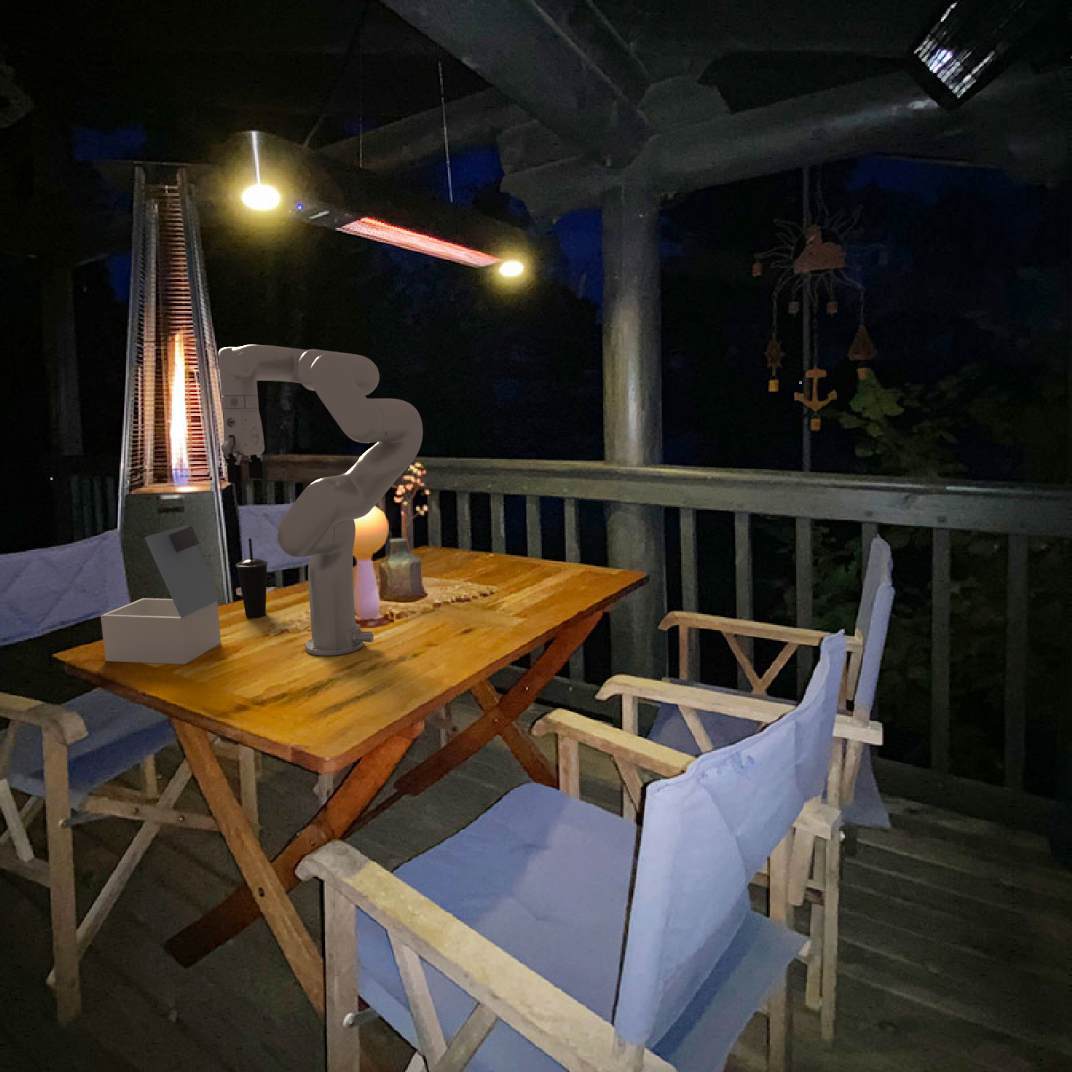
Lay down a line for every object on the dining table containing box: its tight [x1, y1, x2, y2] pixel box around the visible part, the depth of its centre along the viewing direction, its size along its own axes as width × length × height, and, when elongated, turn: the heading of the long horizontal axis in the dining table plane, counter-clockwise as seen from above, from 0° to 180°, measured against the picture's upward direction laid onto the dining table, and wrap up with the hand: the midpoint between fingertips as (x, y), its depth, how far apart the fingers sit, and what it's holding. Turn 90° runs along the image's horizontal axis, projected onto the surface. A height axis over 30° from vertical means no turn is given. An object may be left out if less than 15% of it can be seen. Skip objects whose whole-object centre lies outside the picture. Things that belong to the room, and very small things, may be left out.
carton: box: [100, 597, 222, 665], centre depth 164 cm, size 18×14×10 cm
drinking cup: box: [235, 538, 269, 619], centre depth 190 cm, size 8×8×20 cm
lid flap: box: [144, 524, 221, 618], centre depth 160 cm, size 18×14×6 cm
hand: (246, 480), depth 171 cm, fingers open, 9 cm apart
